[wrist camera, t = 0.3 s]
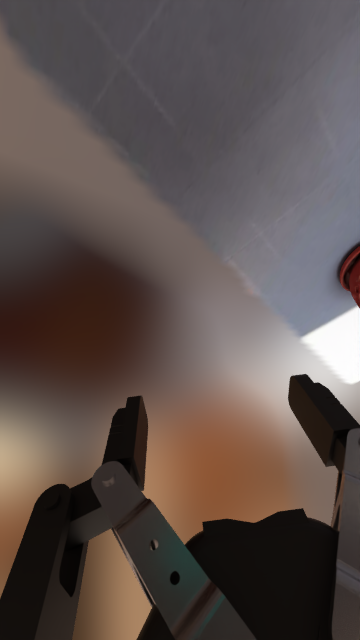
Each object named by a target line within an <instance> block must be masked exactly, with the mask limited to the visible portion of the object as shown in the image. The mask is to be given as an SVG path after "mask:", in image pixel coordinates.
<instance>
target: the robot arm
mask: <svg viewBox="0 0 360 640" xmlns="http://www.w3.org/2000/svg"><path fill="white" fill-rule="evenodd" d="M288 400H289V405H290V407H291V410H292V411H293V413H294V414H295V416H296V418H297V420H298V421H299V423H300V424H301V426H302V428H303V430H304V431H305V433H306V435H307V436H308V438H309V439H310V441H311V443H312V444H313V446H314V448H315V449H316V451H317V453H318V454H319V456H320V458H321V459H322V461H323V463H324V464H325V466H326V467H328V466H336V468H337V469H338V476H337V484H336V492H335V501H334V508H333V516H332V521H331V526H329V525H327V524H325V523H323V522H321V521H318V520H316V519H312V518H308V517H307V516H306V514H305V512H304V510H303V508H302V509H295V510H288V511H280V512H277V513H275V514H273V515H271V516H269V517H267V518H265V519H263V520H261V521H259V522H256V523H250V522H244V521H238V520H232V519H222V520H214V521H207V522H203V531H201V532H199V533H197V534H196V535H195V536H193V537H192V538H191V539H190V540H189V541H188V542H187V543H186V544H185V545H184V544H183V542H182V541H181V540H180V538H179V537H178V536H177V534H176V533H175V532H174V530H173V529H172V527H171V526H170V525H169V523H168V522H167V520H166V519H165V518H164V516H163V515H162V514H161V512H160V511H159V510H158V508H157V507H156V505H155V504H154V503H153V502H152V501H151V500H150V499H147V498H146V497H145V496H144V494H143V493H142V492H141V491H143V490H144V481H145V465H146V451H147V436H148V419H147V414H146V410H145V406H144V401H143V397H142V396H134V397H128V398H127V403H126V408H120V409H118V410H117V412H116V413H115V415H114V416H113V419H112V423H111V428H110V432H109V436H108V440H107V446H106V449H105V454H104V458H103V462H102V465H101V466H100V467H99V468H98V469H97V470H96V472H95V473H94V475H93V477H92V478H90V479H89V480H87V481H85V482H83V483H81V484H79V485H77V486H75V487H72V488H69V487H68V486H66V485H65V484H57V485H54V486H52V487H50V488H48V489H47V490H45V491H44V492H43V493H42V494H41V496H40V497H39V498H38V500H37V501H36V503H35V505H34V508H33V511H32V513H31V516H30V519H29V522H28V524H27V527H26V530H25V533H24V535H23V538H22V541H21V544H20V547H19V549H18V552H17V555H16V558H15V560H14V563H13V566H12V568H11V571H10V574H9V576H8V579H7V582H6V585H5V588H4V590H3V593H2V596H1V598H0V640H72V636H73V630H74V624H75V618H76V613H77V607H78V601H79V595H80V589H81V583H82V577H83V571H84V565H85V559H86V553H87V547H88V542H89V540H90V539H92V538H93V537H96V536H97V535H99V534H101V533H103V532H105V531H107V530H109V529H111V530H112V532H113V534H114V536H115V538H116V539H117V541H118V543H119V545H120V547H121V549H122V550H123V553H124V554H125V556H126V558H127V560H128V562H129V564H130V566H131V568H132V570H133V572H134V574H135V576H136V578H137V580H138V582H139V584H140V586H141V588H142V590H143V591H144V594H145V595H146V597H147V599H148V601H149V603H150V605H151V607H152V609H151V611H150V613H149V615H148V618H147V619H146V622H145V624H144V626H143V628H142V630H141V632H140V634H139V636H138V638H137V640H360V425H359V424H358V423H357V421H356V420H355V419H354V418H353V417H352V416H351V414H350V413H349V412H348V411H347V410H346V409H345V408H344V406H343V405H342V404H340V402H339V401H338V400H337V398H335V396H334V395H333V394H332V393H331V392H330V390H329V389H328V388H326V387H325V386H323V385H322V384H320V383H314V382H313V381H312V380H311V379H310V378H309V377H308V375H306V374H303V375H295V376H291V377H290V384H289V395H288Z"/></svg>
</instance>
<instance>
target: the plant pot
mask: <svg viewBox="0 0 360 640" xmlns="http://www.w3.org/2000/svg"><path fill="white" fill-rule="evenodd" d="M340 283H341V285H342V286H343V288H344V289H346V290H347V291H350V292H351V294H352V296H353V298H354V300H355V302H356V303H357V305H358V306H359V308H360V246H359V247H358V248H357V249H355V250H354V251H353V252H352V253H351V254H350V255H349V256H348V258H347V259H346V260H345V262H344V264H343V266H342V268H341V271H340Z"/></svg>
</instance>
